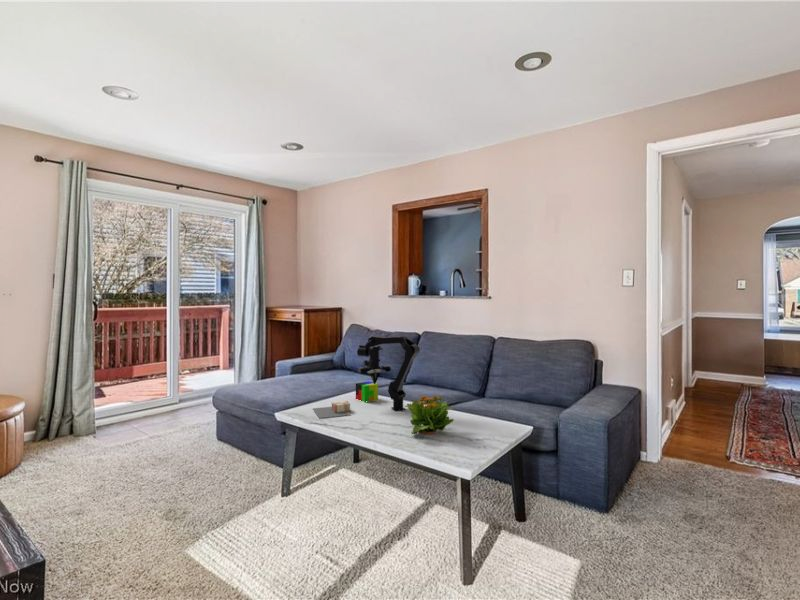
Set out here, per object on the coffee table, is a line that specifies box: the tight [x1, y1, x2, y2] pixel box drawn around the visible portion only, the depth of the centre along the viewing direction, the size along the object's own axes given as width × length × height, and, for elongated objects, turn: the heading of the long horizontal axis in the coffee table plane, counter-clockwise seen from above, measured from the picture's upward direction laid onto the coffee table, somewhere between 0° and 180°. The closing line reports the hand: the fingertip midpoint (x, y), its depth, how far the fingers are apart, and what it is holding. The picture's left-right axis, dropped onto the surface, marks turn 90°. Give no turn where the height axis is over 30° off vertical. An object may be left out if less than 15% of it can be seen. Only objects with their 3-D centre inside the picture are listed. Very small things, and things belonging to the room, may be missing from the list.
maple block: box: [331, 400, 351, 413], centre depth 235 cm, size 6×4×9 cm
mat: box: [312, 406, 352, 419], centre depth 233 cm, size 20×17×1 cm
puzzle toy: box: [355, 381, 379, 403], centre depth 262 cm, size 10×10×10 cm
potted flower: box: [404, 394, 454, 436], centre depth 201 cm, size 25×24×18 cm
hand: (374, 383), depth 246 cm, fingers closed
